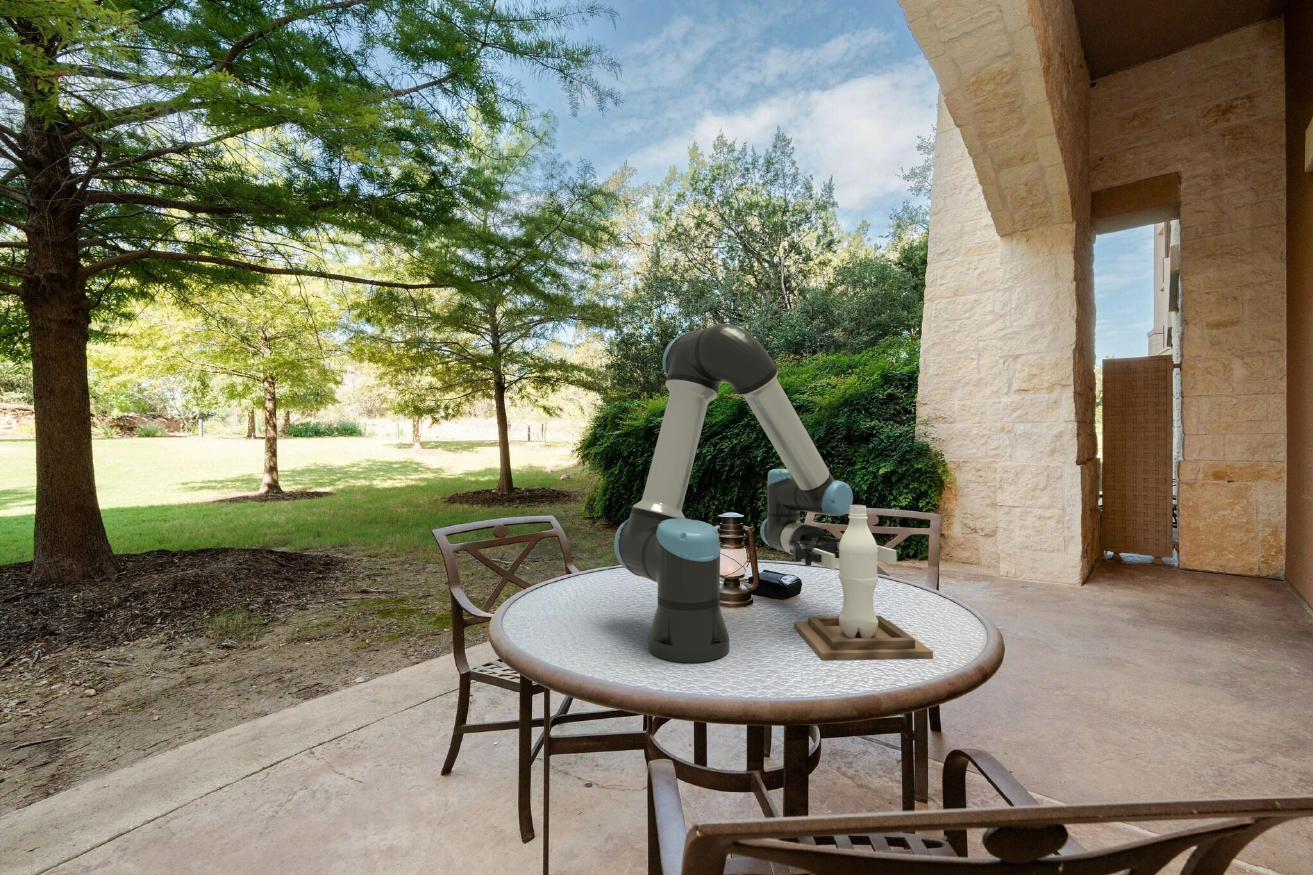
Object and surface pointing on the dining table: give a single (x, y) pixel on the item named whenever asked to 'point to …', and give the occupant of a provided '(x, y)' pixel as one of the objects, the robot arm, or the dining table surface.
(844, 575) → the water bottle
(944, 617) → the dining table surface
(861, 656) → the walnut tray
